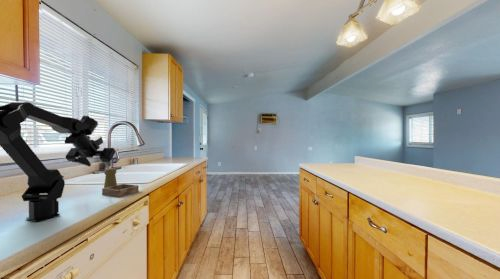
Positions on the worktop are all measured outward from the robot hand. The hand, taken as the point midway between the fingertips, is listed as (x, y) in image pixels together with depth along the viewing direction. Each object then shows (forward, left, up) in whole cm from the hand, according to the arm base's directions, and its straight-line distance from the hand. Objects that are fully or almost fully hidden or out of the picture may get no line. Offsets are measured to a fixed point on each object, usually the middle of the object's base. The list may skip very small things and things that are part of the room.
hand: (100, 165), depth 102 cm
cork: (+7, +3, -14) cm, 16 cm away
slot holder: (+5, -7, -13) cm, 16 cm away
